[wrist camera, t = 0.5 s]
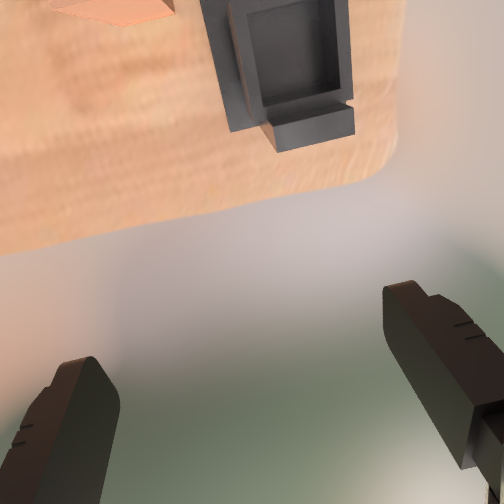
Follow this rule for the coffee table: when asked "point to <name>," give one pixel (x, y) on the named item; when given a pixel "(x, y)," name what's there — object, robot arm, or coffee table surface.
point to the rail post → (115, 10)
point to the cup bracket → (283, 67)
